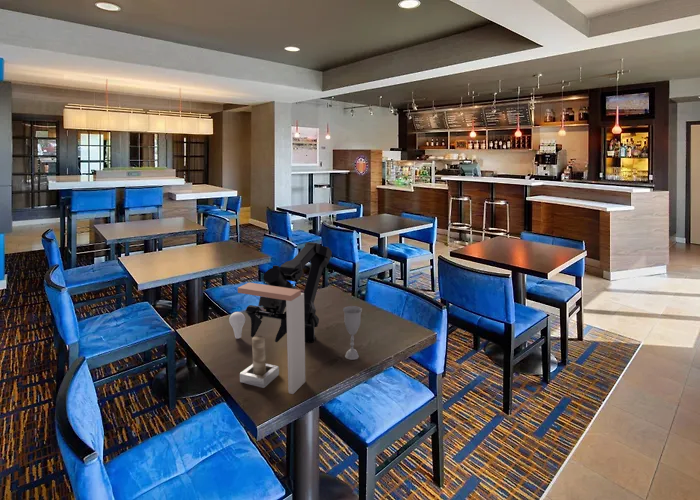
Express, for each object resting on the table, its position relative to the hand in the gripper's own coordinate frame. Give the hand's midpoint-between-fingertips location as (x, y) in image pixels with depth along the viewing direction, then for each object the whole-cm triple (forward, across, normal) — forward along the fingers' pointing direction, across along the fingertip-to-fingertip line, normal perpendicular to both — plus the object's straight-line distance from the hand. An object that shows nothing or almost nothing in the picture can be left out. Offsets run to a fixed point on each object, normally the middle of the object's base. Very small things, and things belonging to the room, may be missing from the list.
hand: (263, 339), depth 140 cm
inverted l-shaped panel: (+11, +5, +7) cm, 14 cm away
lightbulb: (-5, -25, +23) cm, 34 cm away
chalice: (-8, +22, +26) cm, 34 cm away
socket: (+11, 0, +7) cm, 13 cm away
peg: (+11, 0, +7) cm, 13 cm away
